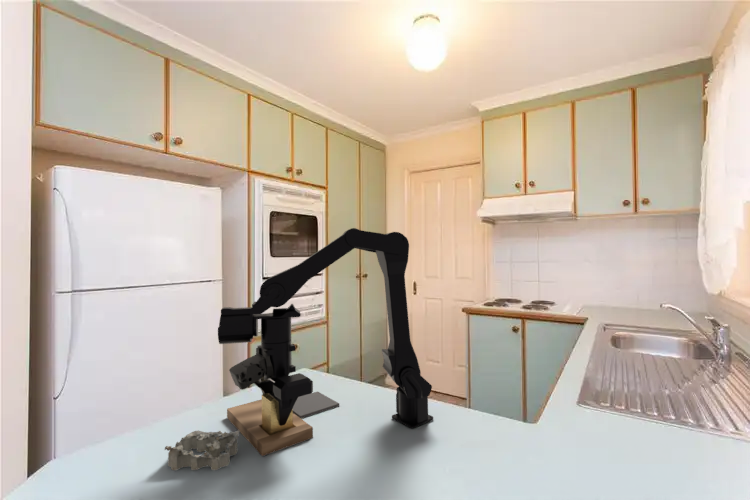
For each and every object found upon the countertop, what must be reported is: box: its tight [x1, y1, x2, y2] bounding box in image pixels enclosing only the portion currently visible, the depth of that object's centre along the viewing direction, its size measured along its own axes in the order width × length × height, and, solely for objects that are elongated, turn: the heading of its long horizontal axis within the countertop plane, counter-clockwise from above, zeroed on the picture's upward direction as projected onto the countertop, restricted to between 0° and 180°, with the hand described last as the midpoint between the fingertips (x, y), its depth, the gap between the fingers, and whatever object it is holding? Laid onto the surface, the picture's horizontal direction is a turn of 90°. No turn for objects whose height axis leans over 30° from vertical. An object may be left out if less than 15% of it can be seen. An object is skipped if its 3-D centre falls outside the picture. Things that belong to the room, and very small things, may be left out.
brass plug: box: [261, 393, 293, 436], centre depth 70 cm, size 4×4×8 cm
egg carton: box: [164, 429, 240, 471], centre depth 63 cm, size 11×8×4 cm
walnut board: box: [226, 398, 314, 457], centre depth 74 cm, size 20×10×2 cm, turn 39°
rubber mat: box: [293, 391, 340, 419], centre depth 85 cm, size 10×10×1 cm
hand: (277, 420), depth 70 cm, fingers closed on brass plug, 4 cm apart
